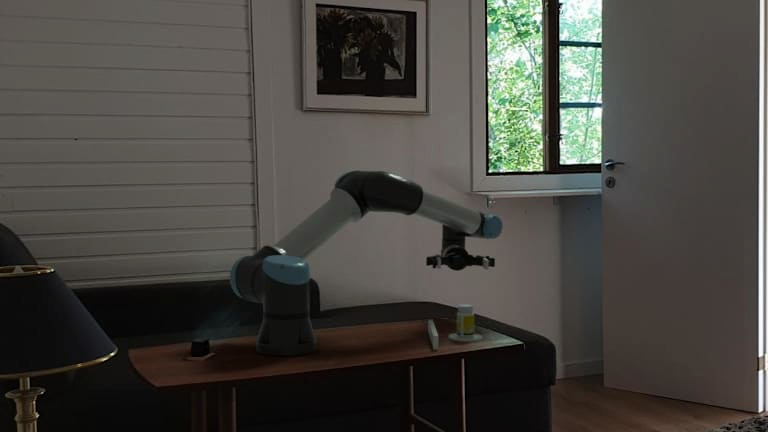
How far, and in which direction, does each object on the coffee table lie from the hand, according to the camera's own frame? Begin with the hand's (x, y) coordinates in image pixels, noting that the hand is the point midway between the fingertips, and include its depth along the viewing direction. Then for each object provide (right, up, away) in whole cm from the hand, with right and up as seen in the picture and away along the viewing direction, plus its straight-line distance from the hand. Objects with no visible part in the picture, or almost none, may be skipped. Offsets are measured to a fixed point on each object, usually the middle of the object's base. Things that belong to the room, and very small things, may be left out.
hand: (463, 264), depth 227 cm
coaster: (-1, -20, -10) cm, 22 cm away
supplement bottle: (-1, -19, -10) cm, 22 cm away
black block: (-68, -21, -33) cm, 78 cm away
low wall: (-10, -20, -13) cm, 25 cm away
